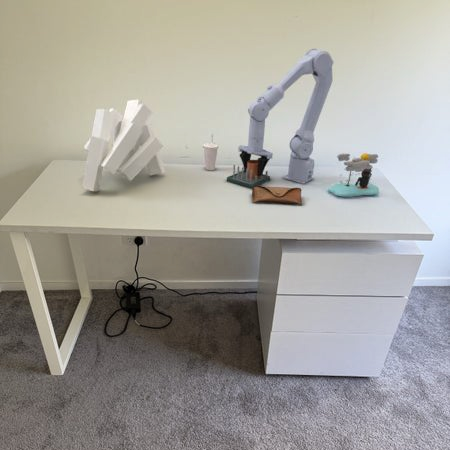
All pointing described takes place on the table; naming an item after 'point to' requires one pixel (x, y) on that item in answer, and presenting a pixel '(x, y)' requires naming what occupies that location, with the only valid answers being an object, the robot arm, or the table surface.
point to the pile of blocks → (122, 145)
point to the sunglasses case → (276, 195)
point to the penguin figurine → (363, 182)
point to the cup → (252, 168)
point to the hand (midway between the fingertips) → (253, 173)
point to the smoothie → (210, 154)
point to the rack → (242, 178)
